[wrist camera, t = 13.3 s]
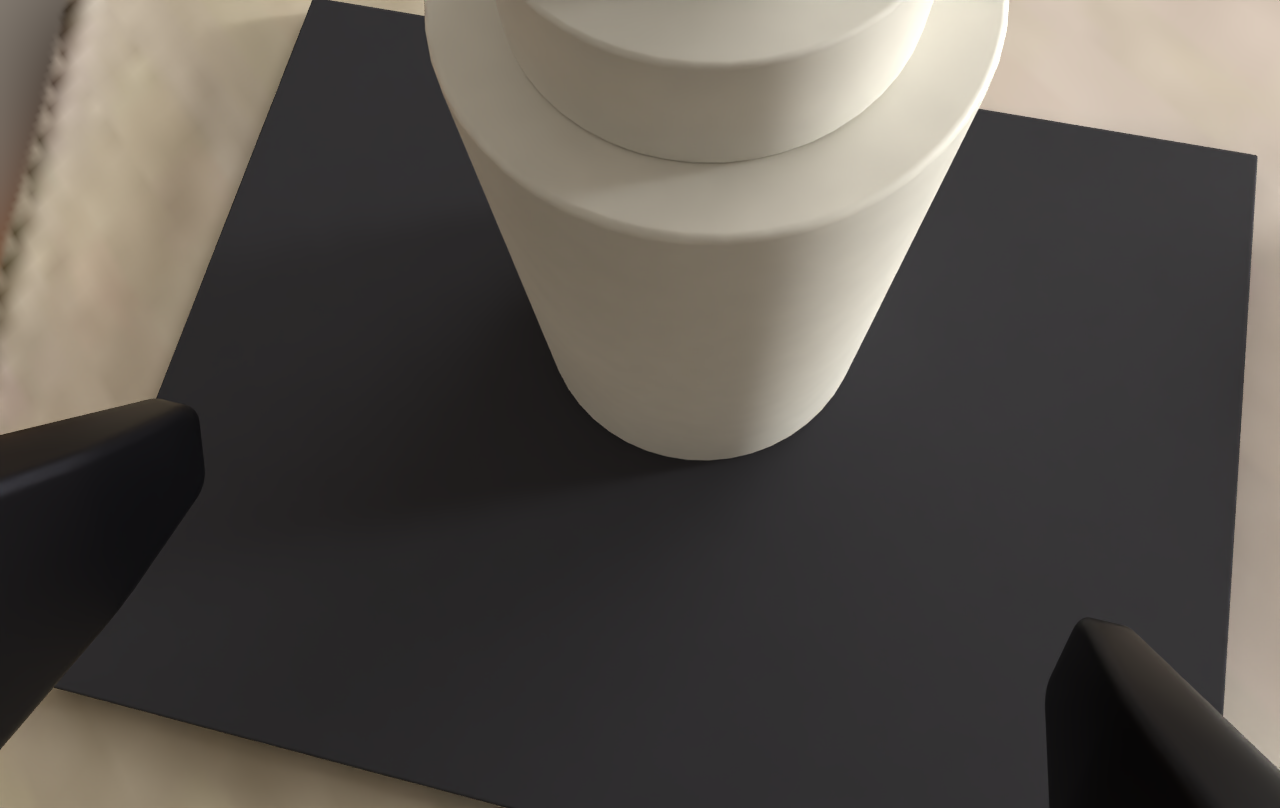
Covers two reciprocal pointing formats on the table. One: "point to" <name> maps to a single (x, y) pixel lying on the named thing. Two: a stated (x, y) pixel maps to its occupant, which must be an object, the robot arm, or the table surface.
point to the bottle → (710, 187)
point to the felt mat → (685, 481)
